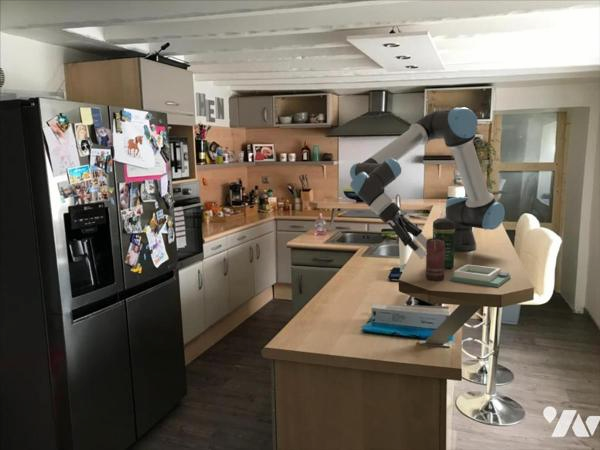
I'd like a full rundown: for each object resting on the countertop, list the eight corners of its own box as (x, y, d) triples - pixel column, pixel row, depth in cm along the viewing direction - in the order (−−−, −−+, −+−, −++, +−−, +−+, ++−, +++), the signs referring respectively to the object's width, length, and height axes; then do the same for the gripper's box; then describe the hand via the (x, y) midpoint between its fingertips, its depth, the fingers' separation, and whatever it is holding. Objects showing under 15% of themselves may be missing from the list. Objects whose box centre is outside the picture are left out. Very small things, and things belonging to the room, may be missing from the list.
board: (464, 271, 180) (465, 263, 180) (510, 277, 170) (510, 268, 170) (450, 280, 169) (450, 271, 169) (497, 287, 159) (498, 277, 159)
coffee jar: (455, 269, 184) (456, 220, 181) (434, 269, 185) (434, 220, 182) (451, 263, 194) (452, 217, 191) (430, 263, 195) (431, 217, 192)
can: (426, 281, 169) (427, 241, 167) (425, 276, 175) (425, 237, 173) (445, 281, 168) (445, 241, 166) (443, 276, 174) (443, 238, 172)
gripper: (386, 211, 188) (426, 252, 184) (368, 220, 165) (413, 267, 161) (400, 197, 185) (440, 239, 181) (384, 205, 162) (429, 252, 158)
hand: (427, 252), depth 171 cm, fingers open, 13 cm apart
